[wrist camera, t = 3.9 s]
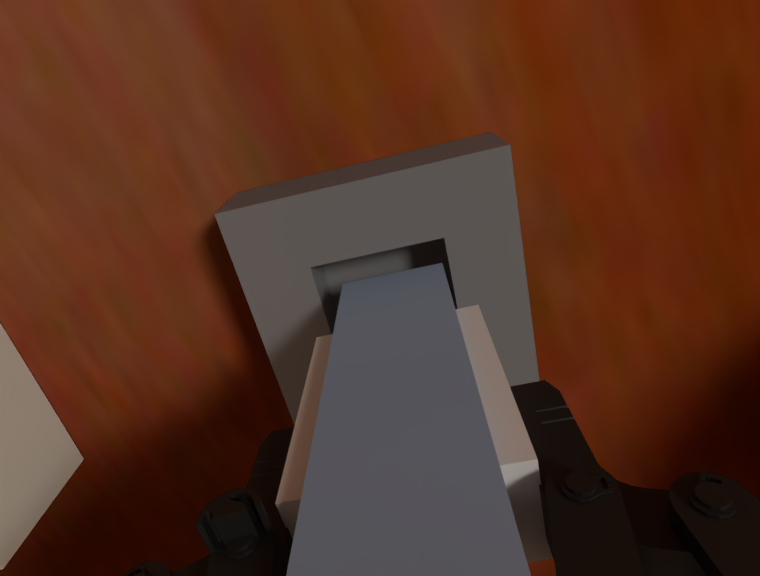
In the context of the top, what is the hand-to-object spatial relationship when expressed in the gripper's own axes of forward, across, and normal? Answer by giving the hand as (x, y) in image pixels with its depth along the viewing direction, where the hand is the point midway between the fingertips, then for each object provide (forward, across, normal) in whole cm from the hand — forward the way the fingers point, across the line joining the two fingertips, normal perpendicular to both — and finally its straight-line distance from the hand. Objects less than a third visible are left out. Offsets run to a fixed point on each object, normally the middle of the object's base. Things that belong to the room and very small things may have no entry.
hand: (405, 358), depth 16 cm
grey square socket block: (+6, 0, 0) cm, 6 cm away
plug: (+3, 0, 0) cm, 3 cm away
